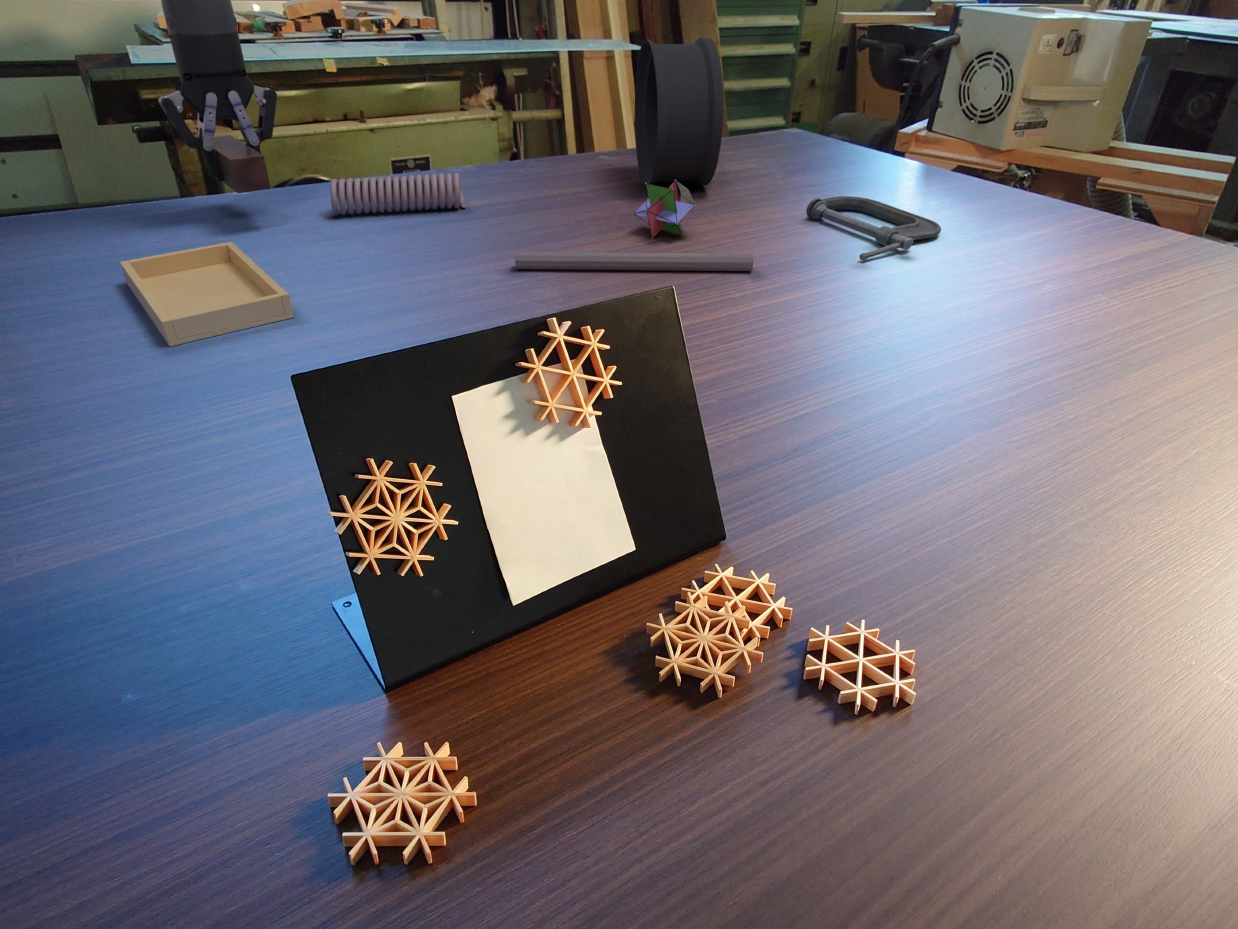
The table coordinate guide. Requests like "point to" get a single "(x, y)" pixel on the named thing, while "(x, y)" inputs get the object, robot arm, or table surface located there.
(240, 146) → the block
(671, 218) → the geometric puzzle
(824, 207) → the c clamp
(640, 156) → the wheel rim
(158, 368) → the table surface
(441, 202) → the coil
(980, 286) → the table surface
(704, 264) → the metal rod
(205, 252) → the tray
